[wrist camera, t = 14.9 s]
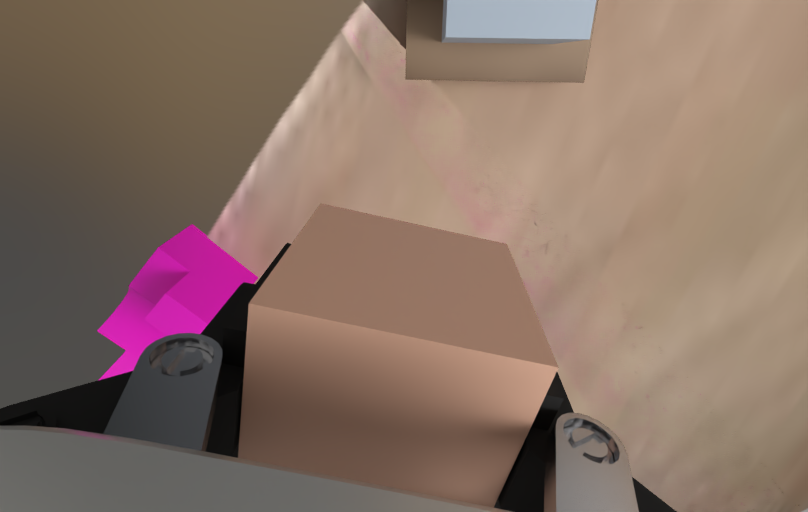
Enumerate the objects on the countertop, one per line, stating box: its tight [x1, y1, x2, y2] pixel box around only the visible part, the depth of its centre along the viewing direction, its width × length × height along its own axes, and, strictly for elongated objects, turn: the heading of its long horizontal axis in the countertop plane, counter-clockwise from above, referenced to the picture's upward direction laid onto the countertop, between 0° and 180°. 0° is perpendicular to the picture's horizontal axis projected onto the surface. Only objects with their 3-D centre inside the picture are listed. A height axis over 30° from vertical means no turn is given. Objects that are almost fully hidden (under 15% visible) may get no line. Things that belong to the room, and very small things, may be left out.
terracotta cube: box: [238, 204, 559, 508], centre depth 10 cm, size 5×5×5 cm
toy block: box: [97, 224, 258, 380], centre depth 32 cm, size 15×6×8 cm, turn 136°
